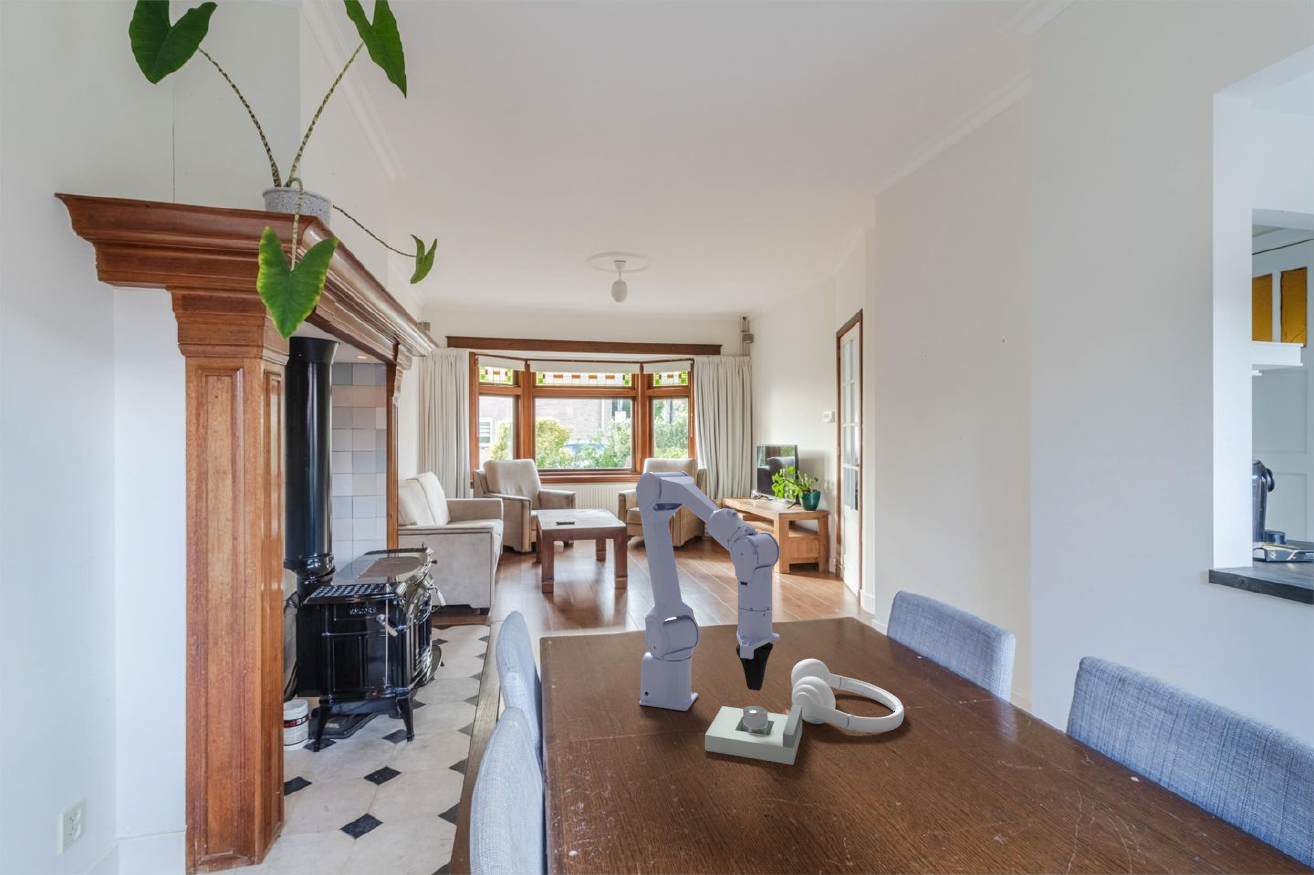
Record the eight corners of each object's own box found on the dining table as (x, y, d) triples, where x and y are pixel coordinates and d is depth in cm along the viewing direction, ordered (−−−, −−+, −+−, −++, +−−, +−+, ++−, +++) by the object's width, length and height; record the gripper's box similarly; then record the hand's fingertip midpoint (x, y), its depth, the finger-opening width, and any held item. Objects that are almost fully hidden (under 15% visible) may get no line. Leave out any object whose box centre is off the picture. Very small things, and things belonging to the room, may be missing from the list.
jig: (705, 750, 102) (705, 722, 102) (722, 720, 113) (722, 694, 113) (793, 764, 97) (793, 735, 97) (802, 731, 109) (802, 705, 109)
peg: (740, 743, 104) (740, 713, 104) (747, 733, 108) (747, 704, 108) (763, 748, 103) (763, 717, 103) (770, 738, 106) (770, 708, 106)
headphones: (789, 729, 109) (912, 752, 105) (794, 683, 109) (917, 705, 105) (789, 687, 128) (892, 705, 124) (793, 648, 128) (896, 665, 124)
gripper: (772, 620, 97) (771, 708, 97) (785, 598, 111) (785, 676, 111) (727, 616, 100) (726, 702, 100) (745, 595, 113) (745, 671, 113)
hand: (754, 688), depth 105 cm, fingers closed
